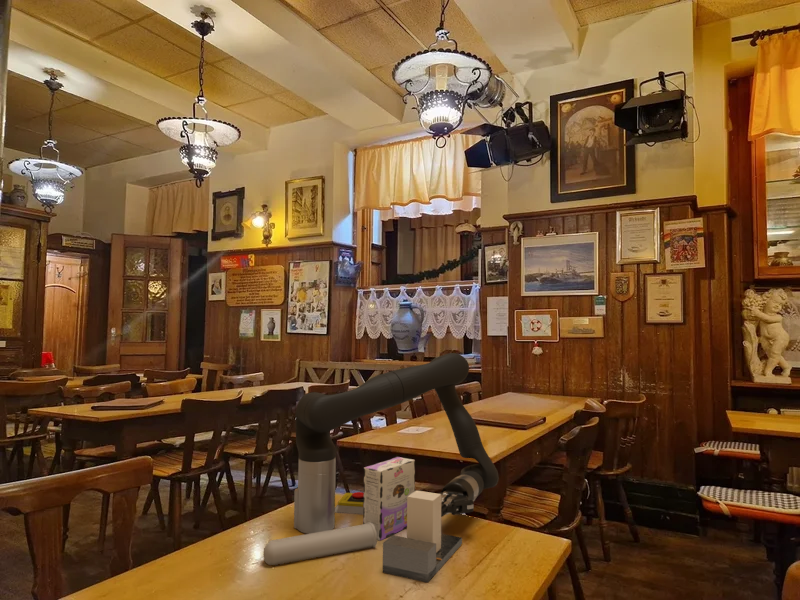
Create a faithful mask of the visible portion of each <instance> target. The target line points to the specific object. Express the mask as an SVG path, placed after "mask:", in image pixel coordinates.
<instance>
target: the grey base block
mask: <svg viewBox="0 0 800 600" xmlns="http://www.w3.org/2000/svg"><path fill="white" fill-rule="evenodd" d="M461 544H462V545H463V537H460V536H456V535H450V534H444V533H441V549H440V550H439V551H438V552H437V553H436V543H431V542H426V541H421V540H415V539H410V538H407V537H405V536H399V535H396V534H393V535H391V536H389V537H387V538H386V539H385V540H384V541H383V542H382V573H384V574H387V575H388V574H389V575H392V576H397V577H401V578H406V579H410V580H415V581H420V582H424V583H430V581H431V580H432V578H433V577H434V576H435V575H436V574H437V573H438V572H439V571H440V569H442V567H443V566H444V565H445V564H446V563H447V561H449V559H450V558H451V557H452V556H453V555H454V554H455V553H456V552H457V550H459V548H460V547H461V546H462V545H461Z"/></svg>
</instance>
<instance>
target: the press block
mask: <svg viewBox="0 0 800 600" xmlns="http://www.w3.org/2000/svg"><path fill="white" fill-rule="evenodd" d="M441 534H442V517H441V494H438V493H435V492H430V491H429V492H428V491H423V490H416V489H415V492H413V493H412V494H410V495H409V496H408V497H407V528H406V538H410V539H415V540H421V541H426V542H431V543H436V553H437V552H438V551H439V550H440V549H441Z"/></svg>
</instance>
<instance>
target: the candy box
mask: <svg viewBox="0 0 800 600" xmlns="http://www.w3.org/2000/svg"><path fill="white" fill-rule="evenodd" d="M415 477H416V460H415V459H412V458H407V457H400V456H395V457H393V458H390V459H387V460H384V461H381V462H377V463H375V464H371V465H368V466H365V467H363V493H364V506H363V507H364V509H363V515H362V516H363V518H362V519H363V521H362V525H363V524H368V522H371V523H372V524H373V525H374V526H375V529H376V532H377V541H379V542H380V541H382V540H386V539H388V538H389V537H391V536H392V535H396V534H397V533H399V532H401V531H403V530H405V529H407V497H408V496H409V495H410V494H412V493H413V492H415V491H416V489H415V488H416V484H415V483H416V481H415V480H416V478H415Z"/></svg>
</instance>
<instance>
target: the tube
mask: <svg viewBox="0 0 800 600" xmlns="http://www.w3.org/2000/svg"><path fill="white" fill-rule="evenodd" d="M377 542H378V540H377V532H376V529H375V526H374V525H373V524H372V523H371V522H368V524H363V523H362V524H358V525H353V526H346V527H341V528H335V529H332V530H328V531H322V532H317V533H311V534H308V533H304V534H301V535H300V534H299V535H294V536H289V537H282V538H278V539H271V540H269V541H268V542H267V543H266V544H265V546H264V548H263V559H264V562H265V563H266V564H267V565H269V566H271V565H275V566H279V565H278V564H280V565H284V563H285V564H290V563H289V562H291V563H296V562H301V561H300V560H302V561H305V560H306V559H307V560H311V559H310V558H312V559H316V557H318V558H323V557H327V556H328V557H329V556H333V554H334V555H339V554H343V553H350V552H355V551H360V550H364V549H370V548H376V546H377V544H378V543H377Z"/></svg>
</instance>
